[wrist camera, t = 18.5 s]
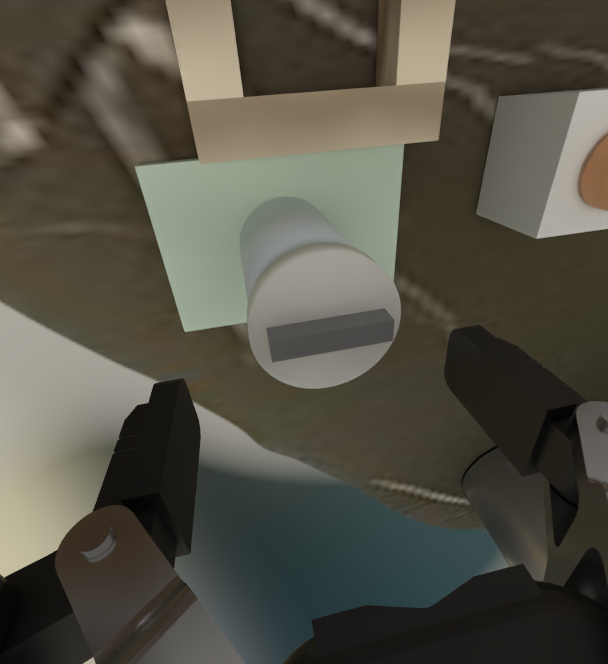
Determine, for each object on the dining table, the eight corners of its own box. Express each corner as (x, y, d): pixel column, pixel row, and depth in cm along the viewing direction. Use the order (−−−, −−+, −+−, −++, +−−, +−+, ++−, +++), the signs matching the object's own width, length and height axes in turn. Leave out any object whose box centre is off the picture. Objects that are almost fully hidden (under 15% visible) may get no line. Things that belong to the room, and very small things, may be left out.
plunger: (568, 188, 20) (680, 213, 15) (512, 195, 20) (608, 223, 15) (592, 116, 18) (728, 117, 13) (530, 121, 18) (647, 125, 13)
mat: (386, 293, 23) (392, 299, 22) (186, 323, 22) (184, 332, 21) (396, 138, 18) (404, 140, 18) (139, 163, 17) (134, 166, 16)
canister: (330, 188, 18) (420, 249, 10) (333, 281, 21) (404, 388, 13) (229, 200, 17) (236, 276, 9) (246, 294, 20) (262, 416, 12)
